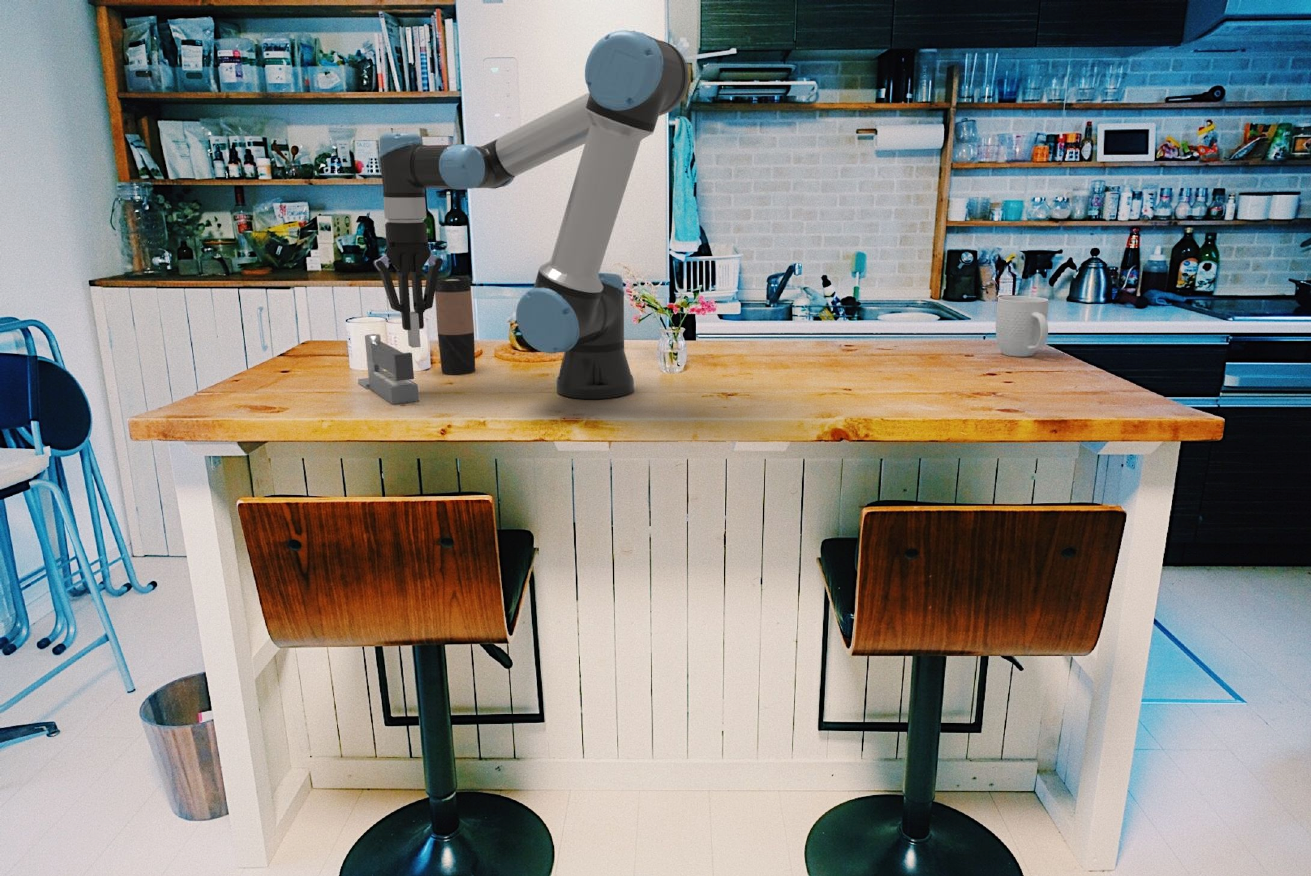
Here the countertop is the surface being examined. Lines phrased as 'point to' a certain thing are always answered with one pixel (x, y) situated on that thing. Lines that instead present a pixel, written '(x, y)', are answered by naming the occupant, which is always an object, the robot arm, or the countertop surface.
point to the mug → (1021, 324)
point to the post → (370, 359)
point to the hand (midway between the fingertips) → (414, 346)
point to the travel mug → (455, 325)
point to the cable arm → (393, 360)
